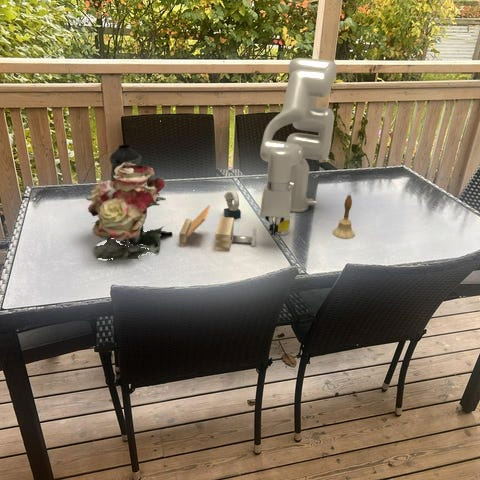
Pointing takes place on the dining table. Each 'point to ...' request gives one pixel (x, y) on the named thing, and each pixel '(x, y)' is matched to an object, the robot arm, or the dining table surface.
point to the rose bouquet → (126, 212)
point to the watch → (232, 205)
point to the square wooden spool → (221, 236)
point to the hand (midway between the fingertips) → (273, 233)
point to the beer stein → (123, 158)
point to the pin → (246, 238)
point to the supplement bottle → (283, 227)
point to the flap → (198, 221)
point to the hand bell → (345, 222)
